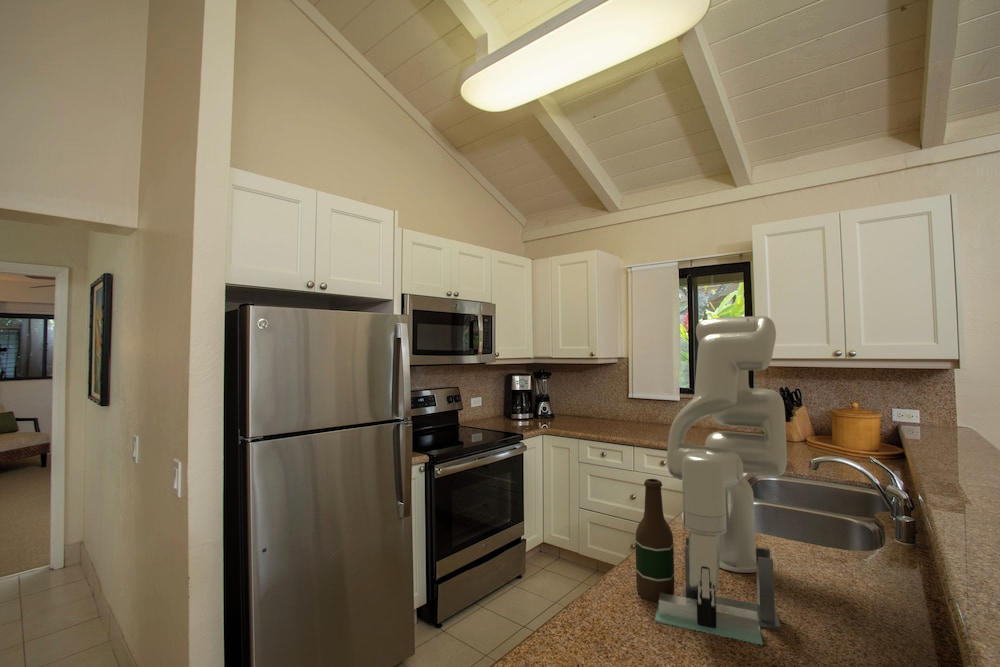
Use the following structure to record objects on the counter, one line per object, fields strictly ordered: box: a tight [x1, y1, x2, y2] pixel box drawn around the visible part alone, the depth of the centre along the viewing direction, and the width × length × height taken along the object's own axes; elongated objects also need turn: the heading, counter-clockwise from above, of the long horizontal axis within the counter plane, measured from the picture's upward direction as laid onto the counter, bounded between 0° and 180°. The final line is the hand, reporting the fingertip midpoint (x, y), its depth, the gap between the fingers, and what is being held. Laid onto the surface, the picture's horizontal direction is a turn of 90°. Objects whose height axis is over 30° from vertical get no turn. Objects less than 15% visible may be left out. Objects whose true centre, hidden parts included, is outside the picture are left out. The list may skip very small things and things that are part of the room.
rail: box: [658, 593, 759, 637], centre depth 87 cm, size 3×17×3 cm, turn 66°
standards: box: [682, 536, 782, 632], centre depth 91 cm, size 7×17×12 cm, turn 66°
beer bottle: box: [635, 478, 675, 604], centre depth 99 cm, size 8×8×24 cm
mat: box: [654, 603, 763, 646], centre depth 87 cm, size 6×18×1 cm, turn 66°
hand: (706, 617), depth 87 cm, fingers open, 4 cm apart
